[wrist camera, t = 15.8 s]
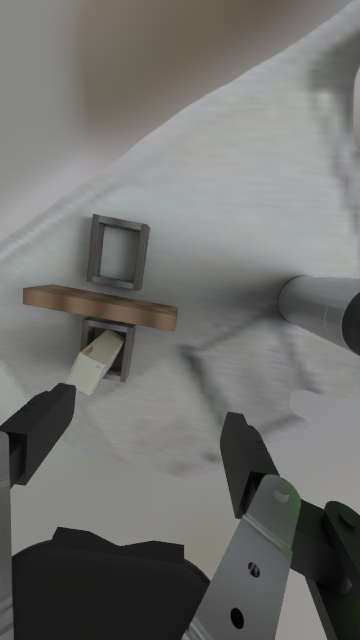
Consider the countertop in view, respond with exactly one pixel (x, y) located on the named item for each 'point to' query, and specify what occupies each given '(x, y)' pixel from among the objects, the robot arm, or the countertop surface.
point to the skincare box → (95, 361)
